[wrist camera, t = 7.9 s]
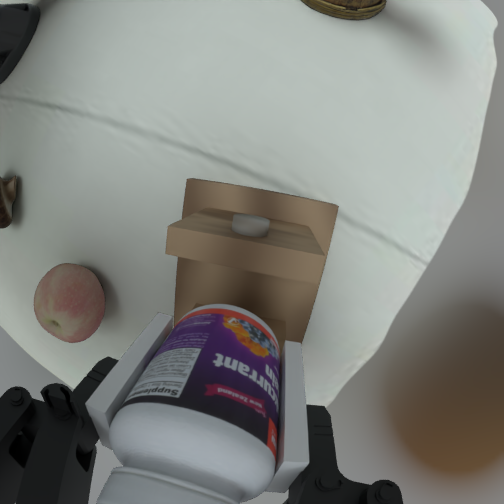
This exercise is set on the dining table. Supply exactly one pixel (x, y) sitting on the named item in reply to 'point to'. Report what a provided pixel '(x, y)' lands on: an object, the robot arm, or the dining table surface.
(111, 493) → the pill bottle
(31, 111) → the dining table surface
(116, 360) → the robot arm
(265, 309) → the holder
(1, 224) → the mushroom
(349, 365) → the dining table surface
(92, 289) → the apple
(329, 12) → the wooden mug
